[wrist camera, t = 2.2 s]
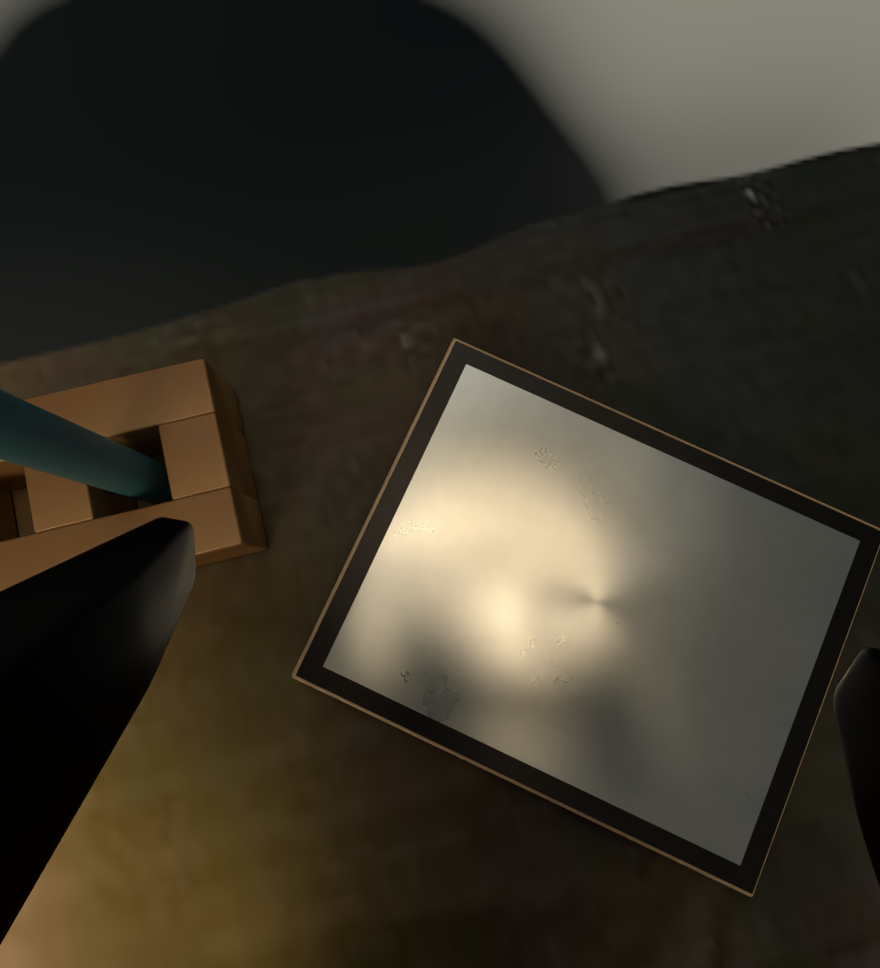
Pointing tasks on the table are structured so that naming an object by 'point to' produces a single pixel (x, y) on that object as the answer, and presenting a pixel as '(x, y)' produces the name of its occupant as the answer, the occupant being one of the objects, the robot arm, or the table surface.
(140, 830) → the table surface
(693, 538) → the tablet
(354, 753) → the table surface
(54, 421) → the stylus
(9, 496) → the block
